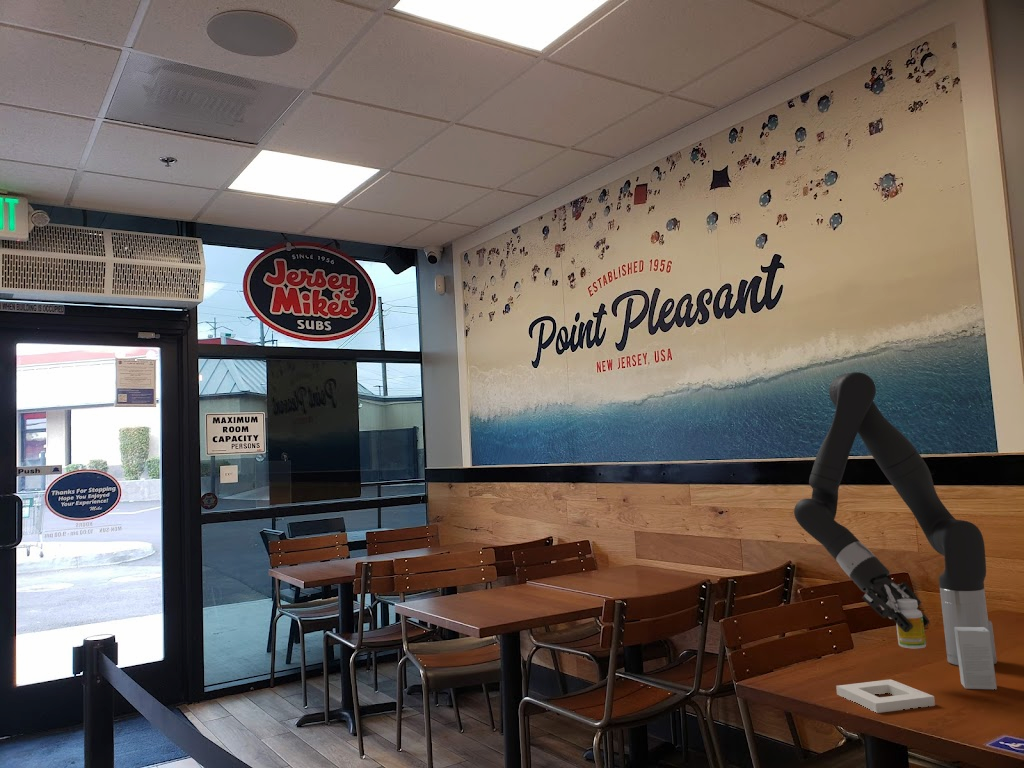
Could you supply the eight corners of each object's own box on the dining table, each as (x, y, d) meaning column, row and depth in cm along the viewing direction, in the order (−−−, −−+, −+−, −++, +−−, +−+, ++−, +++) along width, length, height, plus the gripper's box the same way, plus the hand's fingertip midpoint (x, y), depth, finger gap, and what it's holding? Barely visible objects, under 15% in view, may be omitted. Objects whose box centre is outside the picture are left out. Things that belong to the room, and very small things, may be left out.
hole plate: (891, 688, 167) (890, 679, 167) (935, 705, 154) (934, 696, 154) (837, 694, 164) (836, 685, 164) (876, 713, 152) (875, 703, 152)
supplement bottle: (929, 648, 165) (924, 602, 166) (902, 649, 166) (897, 603, 167) (922, 642, 170) (916, 597, 171) (895, 643, 171) (890, 598, 172)
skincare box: (992, 684, 166) (985, 626, 167) (997, 690, 161) (990, 631, 163) (959, 683, 167) (953, 626, 169) (964, 689, 163) (957, 630, 165)
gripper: (851, 559, 173) (908, 622, 161) (890, 551, 180) (948, 610, 169) (833, 581, 177) (888, 644, 166) (872, 572, 184) (927, 632, 173)
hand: (918, 627), depth 167 cm, fingers closed on supplement bottle, 5 cm apart
